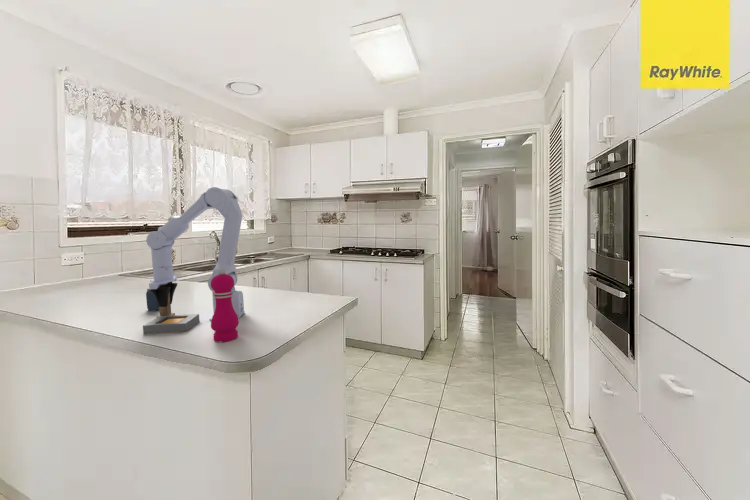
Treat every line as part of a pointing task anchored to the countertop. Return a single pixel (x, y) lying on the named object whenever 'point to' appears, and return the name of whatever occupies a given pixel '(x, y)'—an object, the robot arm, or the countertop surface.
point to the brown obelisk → (166, 309)
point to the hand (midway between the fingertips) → (165, 305)
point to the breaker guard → (171, 324)
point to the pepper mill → (224, 308)
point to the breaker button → (173, 320)
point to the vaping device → (152, 301)
